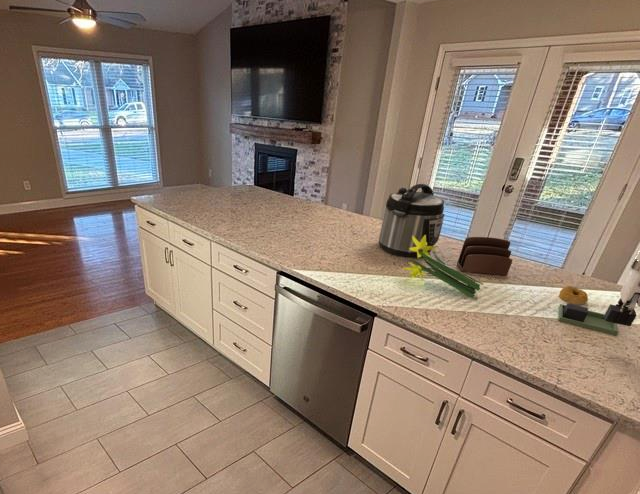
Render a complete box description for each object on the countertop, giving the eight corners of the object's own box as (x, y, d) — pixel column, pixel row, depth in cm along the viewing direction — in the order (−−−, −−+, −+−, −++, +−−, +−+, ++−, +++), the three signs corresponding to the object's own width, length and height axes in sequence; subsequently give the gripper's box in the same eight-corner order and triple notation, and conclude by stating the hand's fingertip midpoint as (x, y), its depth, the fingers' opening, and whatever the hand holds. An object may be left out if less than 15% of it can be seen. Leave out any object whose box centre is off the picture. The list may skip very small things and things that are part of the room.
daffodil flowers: (466, 306, 161) (389, 262, 173) (463, 311, 175) (392, 269, 186) (494, 269, 158) (414, 226, 169) (488, 277, 172) (415, 236, 183)
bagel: (560, 303, 165) (566, 292, 162) (555, 293, 174) (560, 282, 171) (589, 308, 162) (595, 297, 160) (582, 297, 171) (587, 287, 168)
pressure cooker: (390, 260, 198) (406, 191, 180) (365, 241, 221) (377, 178, 203) (446, 258, 203) (466, 191, 186) (416, 239, 226) (432, 178, 209)
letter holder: (456, 263, 198) (466, 234, 190) (500, 268, 196) (511, 238, 188) (461, 271, 190) (471, 241, 182) (507, 276, 187) (519, 246, 180)
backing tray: (612, 321, 154) (615, 316, 153) (615, 337, 144) (618, 331, 143) (557, 308, 161) (560, 303, 160) (557, 322, 152) (560, 317, 150)
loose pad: (628, 320, 135) (634, 309, 132) (630, 326, 131) (636, 315, 129) (604, 315, 137) (610, 304, 135) (605, 321, 134) (611, 310, 132)
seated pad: (582, 317, 155) (587, 307, 152) (583, 322, 151) (588, 312, 149) (562, 312, 157) (567, 302, 155) (562, 317, 154) (567, 307, 152)
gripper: (668, 278, 116) (634, 334, 126) (658, 261, 129) (628, 313, 139) (635, 273, 120) (605, 327, 130) (628, 256, 132) (601, 307, 142)
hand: (617, 319), depth 134 cm, fingers closed on loose pad, 5 cm apart
